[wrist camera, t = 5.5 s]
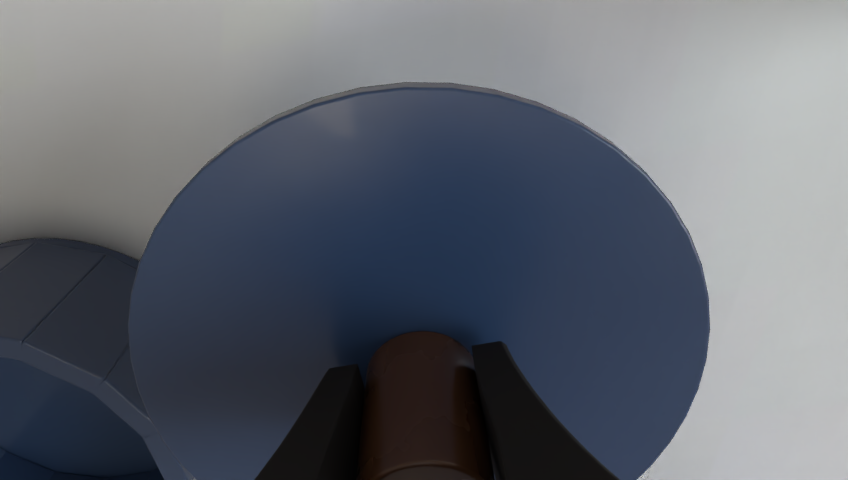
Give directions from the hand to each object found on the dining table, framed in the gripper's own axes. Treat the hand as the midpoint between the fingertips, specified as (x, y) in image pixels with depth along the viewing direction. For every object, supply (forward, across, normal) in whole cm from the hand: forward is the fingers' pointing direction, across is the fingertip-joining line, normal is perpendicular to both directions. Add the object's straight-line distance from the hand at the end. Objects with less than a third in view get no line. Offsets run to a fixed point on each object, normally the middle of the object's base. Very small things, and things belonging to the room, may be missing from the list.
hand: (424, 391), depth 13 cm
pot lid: (+1, 0, 0) cm, 1 cm away
